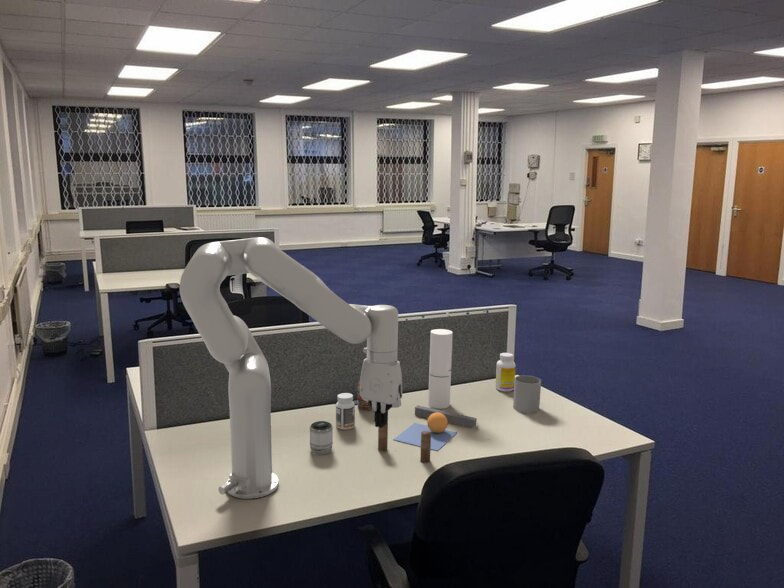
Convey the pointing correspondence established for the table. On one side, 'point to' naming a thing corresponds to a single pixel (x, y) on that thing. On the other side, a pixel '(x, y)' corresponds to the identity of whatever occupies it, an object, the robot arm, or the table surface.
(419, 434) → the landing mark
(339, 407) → the pill bottle
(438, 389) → the cylindrical container
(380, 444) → the left post
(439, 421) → the ball
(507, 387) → the supplement bottle
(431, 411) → the wall
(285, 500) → the table surface
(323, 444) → the camera lens
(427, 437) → the right post
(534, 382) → the cup
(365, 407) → the supplement bottle
